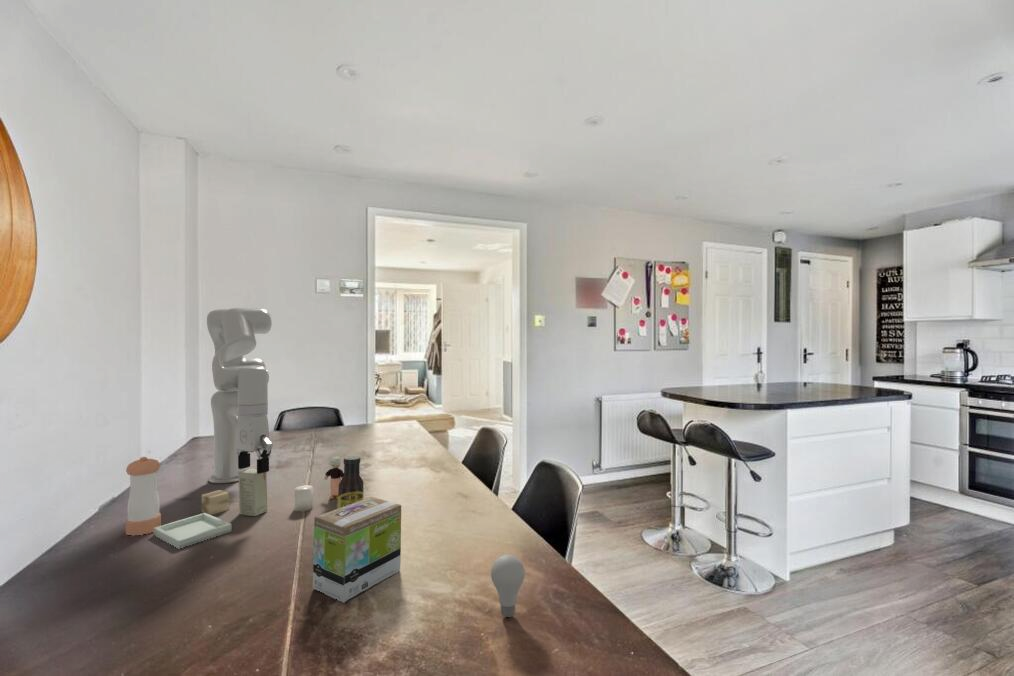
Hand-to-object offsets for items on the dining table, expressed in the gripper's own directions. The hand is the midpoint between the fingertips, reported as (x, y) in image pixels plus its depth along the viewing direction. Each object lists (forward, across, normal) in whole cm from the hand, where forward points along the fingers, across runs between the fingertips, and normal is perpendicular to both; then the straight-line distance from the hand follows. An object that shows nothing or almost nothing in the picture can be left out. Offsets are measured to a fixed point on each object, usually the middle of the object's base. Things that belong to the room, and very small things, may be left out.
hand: (253, 470), depth 133 cm
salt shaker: (+12, -13, -22) cm, 28 cm away
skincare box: (+13, -1, 0) cm, 13 cm away
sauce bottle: (+13, +35, +5) cm, 38 cm away
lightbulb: (+15, +87, -2) cm, 88 cm away
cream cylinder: (+12, +8, +10) cm, 18 cm away
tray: (+12, 0, -16) cm, 20 cm away
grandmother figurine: (+13, +8, +21) cm, 26 cm away
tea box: (+14, +54, -8) cm, 56 cm away
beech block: (+12, -12, -5) cm, 18 cm away
